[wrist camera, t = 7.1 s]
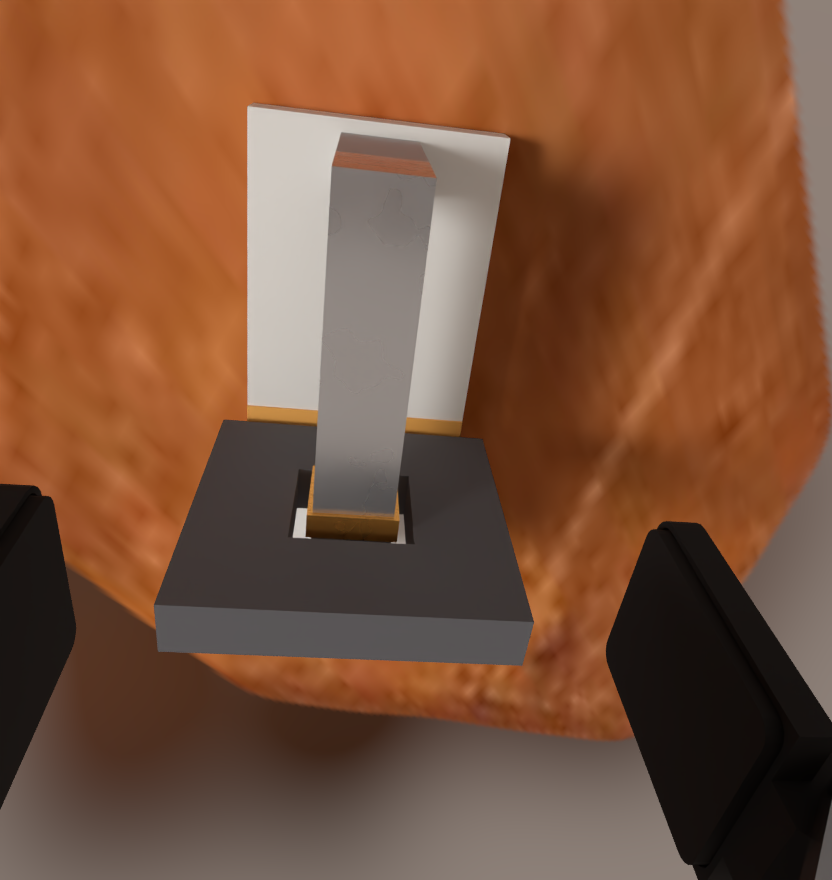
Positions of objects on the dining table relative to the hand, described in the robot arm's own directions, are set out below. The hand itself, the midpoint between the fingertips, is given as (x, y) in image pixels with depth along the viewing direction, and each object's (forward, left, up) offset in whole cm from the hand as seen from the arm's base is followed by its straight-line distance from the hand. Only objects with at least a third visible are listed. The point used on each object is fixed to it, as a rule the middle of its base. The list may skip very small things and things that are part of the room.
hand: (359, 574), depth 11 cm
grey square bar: (+5, 0, -16) cm, 16 cm away
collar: (+9, 0, -20) cm, 22 cm away
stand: (+5, 0, -22) cm, 23 cm away
